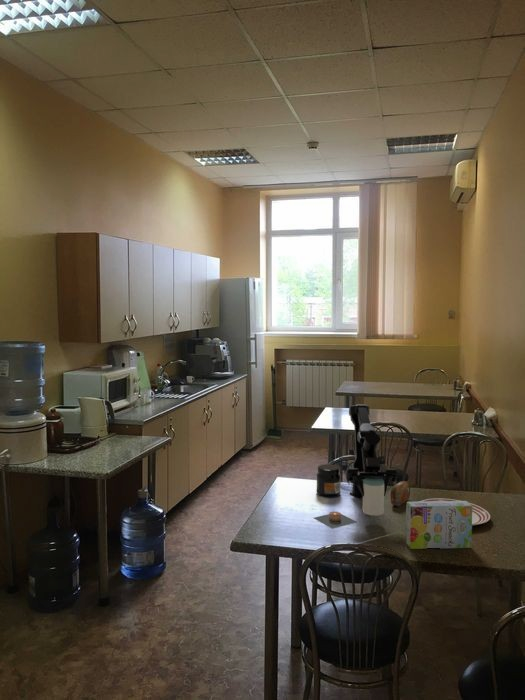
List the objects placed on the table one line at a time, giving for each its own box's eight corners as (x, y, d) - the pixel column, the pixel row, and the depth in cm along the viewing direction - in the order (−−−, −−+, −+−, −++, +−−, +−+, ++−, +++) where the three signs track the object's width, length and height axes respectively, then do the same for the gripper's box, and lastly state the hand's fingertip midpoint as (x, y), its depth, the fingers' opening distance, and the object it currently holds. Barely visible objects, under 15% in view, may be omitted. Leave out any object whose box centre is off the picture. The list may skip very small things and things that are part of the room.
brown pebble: (326, 519, 216) (327, 512, 215) (335, 516, 218) (336, 510, 218) (334, 523, 212) (334, 516, 212) (343, 520, 214) (343, 514, 214)
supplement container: (342, 498, 241) (342, 470, 240) (317, 498, 240) (318, 470, 239) (338, 490, 251) (339, 463, 250) (315, 490, 251) (315, 463, 250)
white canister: (361, 507, 215) (362, 477, 214) (381, 508, 215) (382, 477, 214) (364, 515, 207) (364, 483, 206) (385, 515, 207) (385, 483, 206)
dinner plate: (485, 509, 229) (486, 501, 229) (494, 535, 203) (494, 526, 202) (416, 502, 236) (416, 494, 236) (415, 527, 210) (415, 518, 210)
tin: (396, 509, 228) (396, 488, 228) (388, 507, 230) (389, 487, 229) (410, 498, 240) (411, 479, 239) (403, 497, 242) (404, 478, 241)
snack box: (465, 542, 197) (466, 500, 195) (471, 549, 191) (473, 505, 190) (405, 542, 196) (406, 500, 195) (409, 549, 190) (411, 506, 189)
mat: (312, 519, 217) (313, 517, 217) (337, 513, 223) (337, 512, 223) (332, 529, 207) (332, 528, 207) (357, 523, 213) (357, 522, 213)
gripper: (347, 447, 213) (350, 485, 203) (397, 448, 213) (403, 486, 203) (345, 461, 222) (347, 499, 212) (392, 462, 221) (397, 499, 211)
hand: (374, 495), depth 209 cm, fingers closed on white canister, 7 cm apart
